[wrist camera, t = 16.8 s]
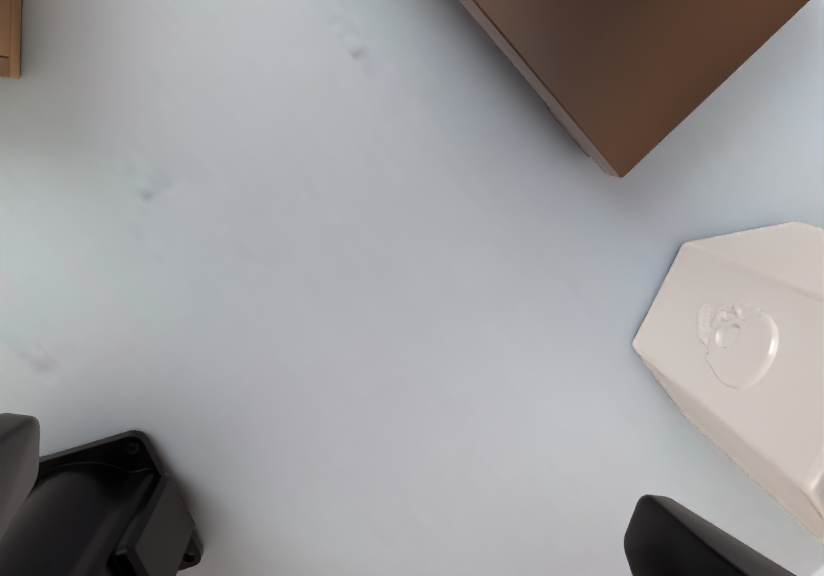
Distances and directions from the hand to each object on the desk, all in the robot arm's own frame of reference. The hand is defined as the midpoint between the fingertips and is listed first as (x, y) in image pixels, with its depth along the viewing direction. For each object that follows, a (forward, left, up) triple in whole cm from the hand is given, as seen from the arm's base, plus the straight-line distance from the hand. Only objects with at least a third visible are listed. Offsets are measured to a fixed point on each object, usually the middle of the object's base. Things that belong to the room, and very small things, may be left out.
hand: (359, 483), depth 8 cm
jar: (+14, -7, -13) cm, 21 cm away
